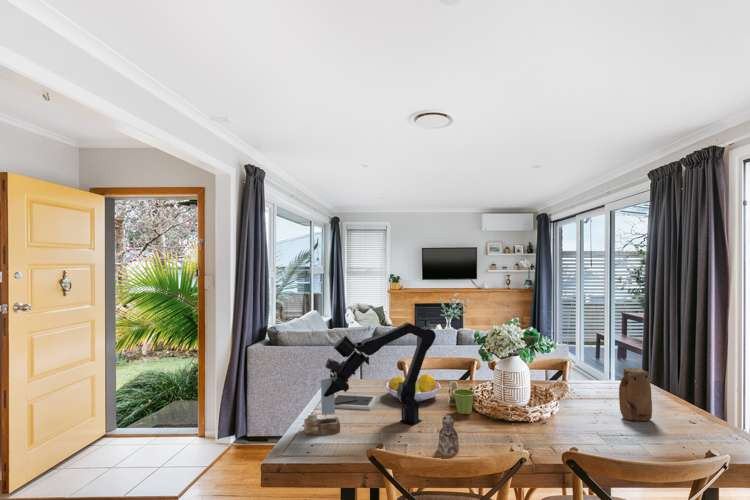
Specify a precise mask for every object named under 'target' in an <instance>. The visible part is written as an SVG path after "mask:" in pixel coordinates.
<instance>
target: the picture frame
mask: <svg viewBox="0 0 750 500" xmlns="http://www.w3.org/2000/svg"><path fill="white" fill-rule="evenodd" d="M334 396H335V409H345V410H360V411H363V410H364V411H371V410H372V409H373V407H374V405H375V403H376V402H377V400H378V395H365V394H364V395H363V394H362V395H361V394H344V393H335V394H334Z"/></svg>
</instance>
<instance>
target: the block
mask: <svg viewBox="0 0 750 500" xmlns="http://www.w3.org/2000/svg"><path fill="white" fill-rule="evenodd" d="M651 385H652V384H651V380H650V373H649V372H648V371H645V370H644V369H642V368H638V367H637V368H632V367H627V368H624V369H623V376H621V380H620V383H619V385H618V398H619V399H618V400H619V410H620V414H621V416H622V418H623V419H625V420H627V421H638V422H639V421H640V422H641V421H643V422H646V421H650V420H651V419H652V418H653V417H652V416H653V400H652V386H651Z"/></svg>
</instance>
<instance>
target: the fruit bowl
mask: <svg viewBox="0 0 750 500" xmlns="http://www.w3.org/2000/svg"><path fill="white" fill-rule="evenodd" d="M405 379H406V377H402V376H401V375H398V376H395V377H393V378H391V379H390V380H389V381H388V382H386V389H387V391H388V392H389V394H391V395H392V396H393V397H395V398H396V399H398V397H397V391H396V390H397V388H398V385H399V382H402V383H403V382H404V380H405ZM441 388H442V387H441V385H440V383H439V382H438V381H436V380H435V379H434V377H433V376H432V375H431V374H430V373H429V374H428V373H426V374H421V376H420V377H418V378H417V381H416V385H415V399H416V401H417V402H418V403H420V402H423V401H427V400H429V399H432V398H435V396H436V395H437V394H438V392H439V391H440V390H441Z"/></svg>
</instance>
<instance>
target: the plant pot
mask: <svg viewBox="0 0 750 500" xmlns="http://www.w3.org/2000/svg"><path fill="white" fill-rule="evenodd" d="M452 394H453V396H454V398H455V406H456V411H457V413H458V414H460V415H470V414H472V411H473V403H474V397H475V395H476V392H475V391H474V390H472V389H467V388H457V389H454V390H453V391H452Z"/></svg>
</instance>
